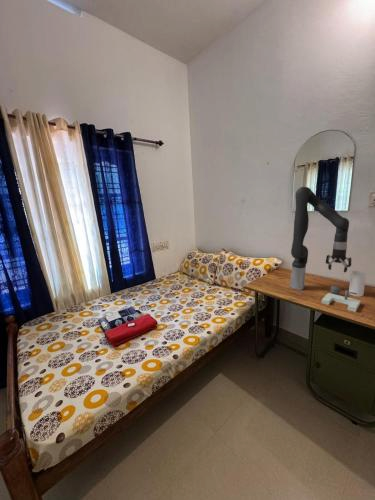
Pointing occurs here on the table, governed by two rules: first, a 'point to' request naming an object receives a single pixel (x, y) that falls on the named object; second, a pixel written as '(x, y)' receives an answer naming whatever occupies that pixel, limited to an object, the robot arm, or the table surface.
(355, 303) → the board
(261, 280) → the table surface
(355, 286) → the cup
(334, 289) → the grooved grey cylinder
